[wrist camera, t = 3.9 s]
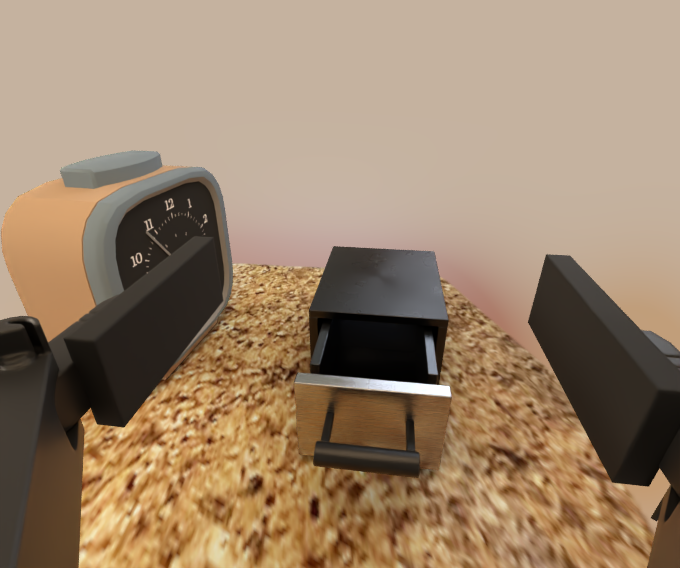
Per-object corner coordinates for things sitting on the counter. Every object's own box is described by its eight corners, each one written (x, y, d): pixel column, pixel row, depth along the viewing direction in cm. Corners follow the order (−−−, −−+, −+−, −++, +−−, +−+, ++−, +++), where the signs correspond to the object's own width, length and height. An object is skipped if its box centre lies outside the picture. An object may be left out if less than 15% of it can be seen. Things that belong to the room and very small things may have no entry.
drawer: (444, 524, 28) (460, 447, 24) (285, 504, 29) (278, 428, 25) (427, 357, 44) (435, 296, 40) (326, 348, 45) (325, 289, 42)
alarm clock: (146, 413, 38) (77, 188, 28) (63, 397, 40) (-31, 181, 30) (240, 305, 56) (218, 144, 46) (179, 298, 57) (145, 142, 47)
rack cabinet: (436, 401, 39) (448, 319, 35) (312, 389, 41) (308, 310, 36) (426, 317, 53) (434, 251, 49) (333, 310, 54) (333, 246, 50)
